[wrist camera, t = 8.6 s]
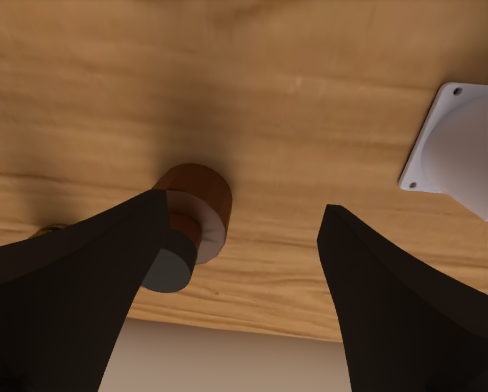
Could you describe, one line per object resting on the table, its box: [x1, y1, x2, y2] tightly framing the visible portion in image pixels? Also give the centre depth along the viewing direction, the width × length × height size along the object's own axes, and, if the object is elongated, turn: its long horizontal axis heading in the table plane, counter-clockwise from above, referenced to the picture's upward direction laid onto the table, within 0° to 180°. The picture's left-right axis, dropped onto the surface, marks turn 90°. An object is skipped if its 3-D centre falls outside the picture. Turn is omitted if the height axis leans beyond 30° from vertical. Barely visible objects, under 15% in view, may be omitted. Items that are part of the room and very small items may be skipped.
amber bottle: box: [152, 164, 232, 265], centre depth 19 cm, size 7×7×7 cm
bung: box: [141, 228, 198, 293], centre depth 15 cm, size 4×4×3 cm
